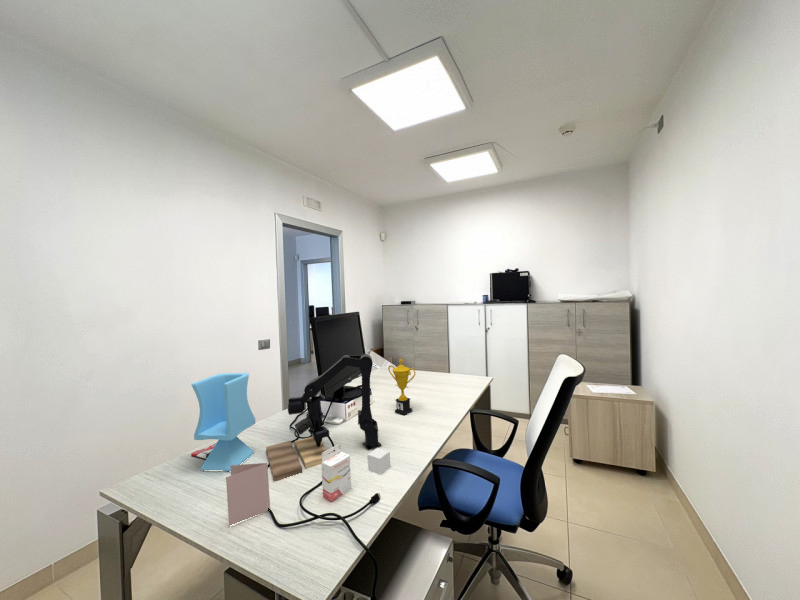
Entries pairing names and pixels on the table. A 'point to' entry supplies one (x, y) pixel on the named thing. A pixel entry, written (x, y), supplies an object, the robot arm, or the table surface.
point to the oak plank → (309, 451)
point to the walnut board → (283, 460)
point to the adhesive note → (379, 460)
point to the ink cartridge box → (335, 473)
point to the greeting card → (247, 491)
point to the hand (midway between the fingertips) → (318, 446)
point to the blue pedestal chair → (224, 418)
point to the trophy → (402, 387)
